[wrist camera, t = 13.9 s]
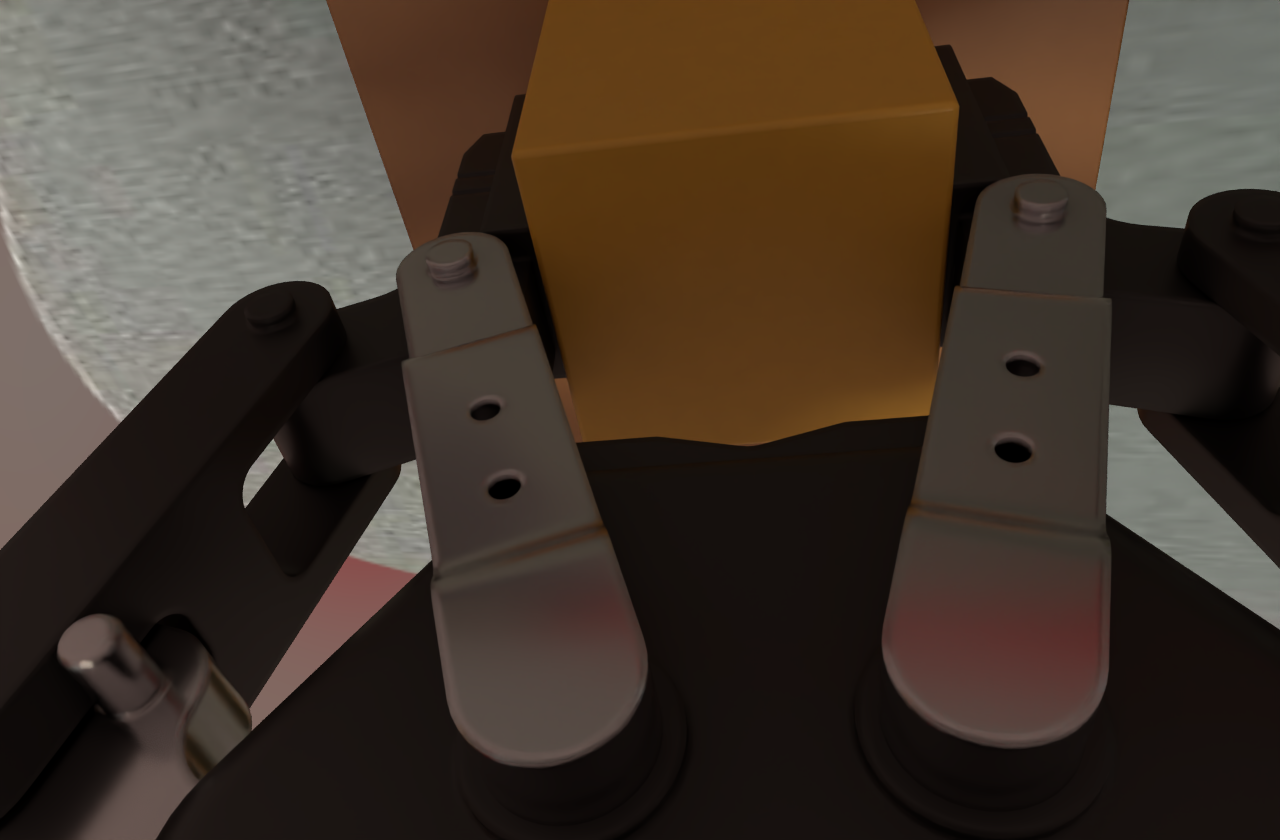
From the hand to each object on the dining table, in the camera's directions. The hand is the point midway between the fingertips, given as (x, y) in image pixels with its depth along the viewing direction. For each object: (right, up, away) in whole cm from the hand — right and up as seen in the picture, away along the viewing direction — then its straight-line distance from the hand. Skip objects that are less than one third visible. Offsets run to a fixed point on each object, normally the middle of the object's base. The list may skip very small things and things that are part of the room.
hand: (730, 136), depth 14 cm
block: (0, 0, 0) cm, 0 cm away
